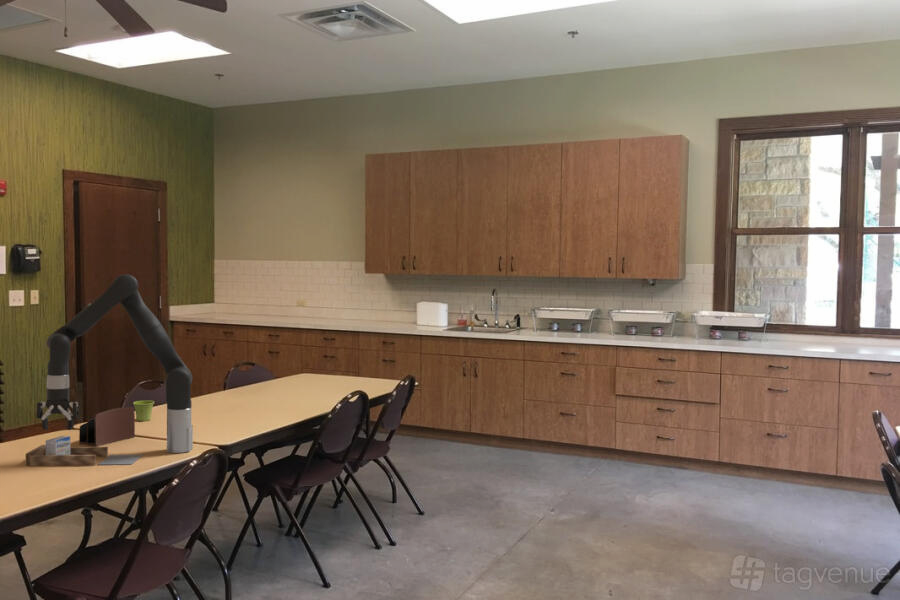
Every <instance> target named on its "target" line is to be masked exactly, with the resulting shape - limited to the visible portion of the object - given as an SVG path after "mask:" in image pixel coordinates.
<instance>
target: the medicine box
mask: <svg viewBox="0 0 900 600" xmlns="http://www.w3.org/2000/svg"><path fill="white" fill-rule="evenodd" d="M45 445H46V455H70V447H71V436H67V435H61V436H57V437H54V438H49V439H46V440H45Z"/></svg>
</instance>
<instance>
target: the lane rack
mask: <svg viewBox="0 0 900 600" xmlns="http://www.w3.org/2000/svg"><path fill="white" fill-rule="evenodd" d="M108 449H109V446H97V447H94V446H70V455H46V444H41V445H40V446H38V447H36V448H34V449H31V450H30V451H28V452H27V453H25V466H26V467H42V466H43V467H49V466H51V467H52V466H54V467H55V466H96V465H97V457H98V458H99V457H102V458H105V457H106V458H107V457H108V456H109V450H108Z"/></svg>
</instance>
